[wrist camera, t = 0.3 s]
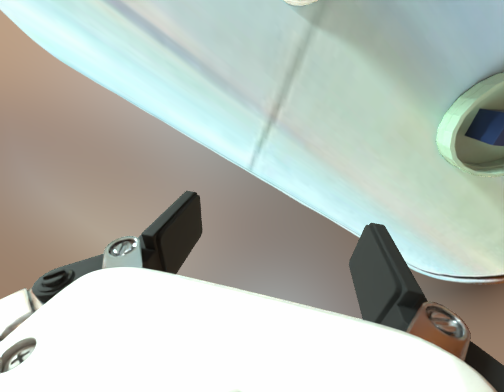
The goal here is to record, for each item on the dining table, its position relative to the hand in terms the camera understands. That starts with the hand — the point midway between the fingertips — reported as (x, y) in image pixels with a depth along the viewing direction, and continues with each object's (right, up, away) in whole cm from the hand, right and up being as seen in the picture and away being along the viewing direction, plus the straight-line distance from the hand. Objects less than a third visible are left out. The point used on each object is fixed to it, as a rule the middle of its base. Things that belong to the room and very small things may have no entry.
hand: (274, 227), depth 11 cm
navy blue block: (+41, +14, +24) cm, 49 cm away
